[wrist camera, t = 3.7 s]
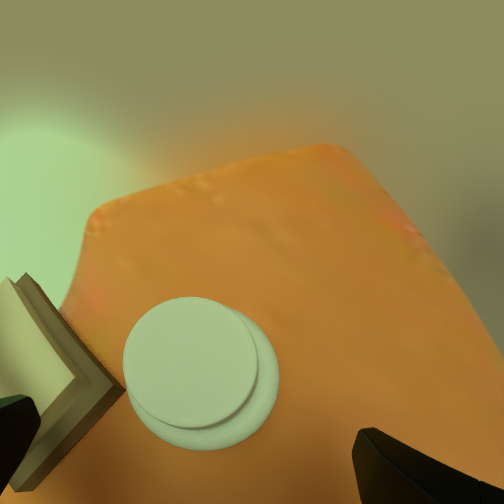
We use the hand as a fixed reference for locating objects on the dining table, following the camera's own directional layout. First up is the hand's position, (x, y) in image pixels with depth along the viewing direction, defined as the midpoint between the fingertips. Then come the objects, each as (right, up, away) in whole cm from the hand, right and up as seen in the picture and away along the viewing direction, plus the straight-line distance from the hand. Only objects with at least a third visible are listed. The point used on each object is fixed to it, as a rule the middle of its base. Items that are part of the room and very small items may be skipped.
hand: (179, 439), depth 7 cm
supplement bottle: (0, -4, +10) cm, 11 cm away
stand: (-14, -4, +10) cm, 17 cm away
